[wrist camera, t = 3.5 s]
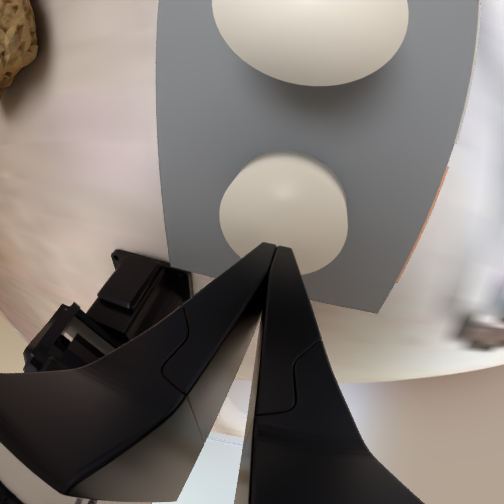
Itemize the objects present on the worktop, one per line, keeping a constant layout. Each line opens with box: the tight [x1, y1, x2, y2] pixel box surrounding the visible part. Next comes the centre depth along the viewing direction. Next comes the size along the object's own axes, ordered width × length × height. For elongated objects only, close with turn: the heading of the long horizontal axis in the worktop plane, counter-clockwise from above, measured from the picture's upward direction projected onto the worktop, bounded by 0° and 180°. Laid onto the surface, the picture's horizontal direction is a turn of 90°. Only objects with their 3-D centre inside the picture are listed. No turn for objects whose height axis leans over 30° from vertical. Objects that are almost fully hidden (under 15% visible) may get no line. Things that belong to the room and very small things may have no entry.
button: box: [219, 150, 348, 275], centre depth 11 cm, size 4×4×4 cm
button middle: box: [212, 0, 409, 86], centre depth 6 cm, size 4×4×4 cm
